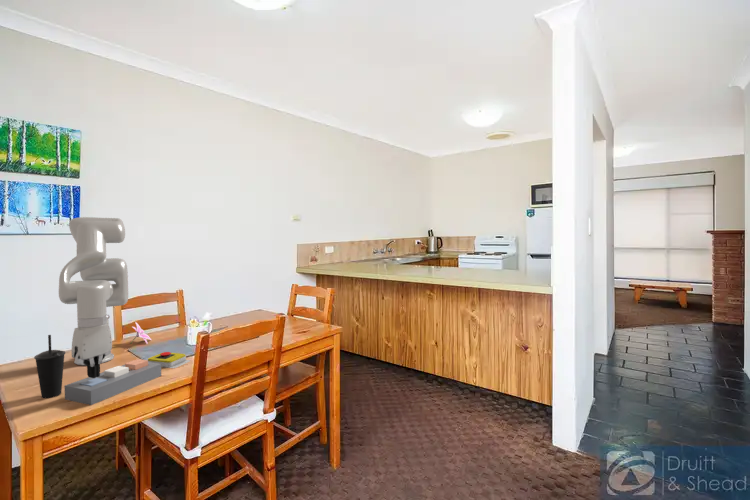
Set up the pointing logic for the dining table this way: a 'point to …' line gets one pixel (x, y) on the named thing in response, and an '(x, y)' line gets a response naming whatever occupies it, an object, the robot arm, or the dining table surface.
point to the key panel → (110, 385)
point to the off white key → (116, 371)
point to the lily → (141, 333)
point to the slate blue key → (93, 382)
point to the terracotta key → (136, 364)
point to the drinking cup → (50, 371)
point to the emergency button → (169, 359)
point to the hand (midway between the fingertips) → (93, 376)
